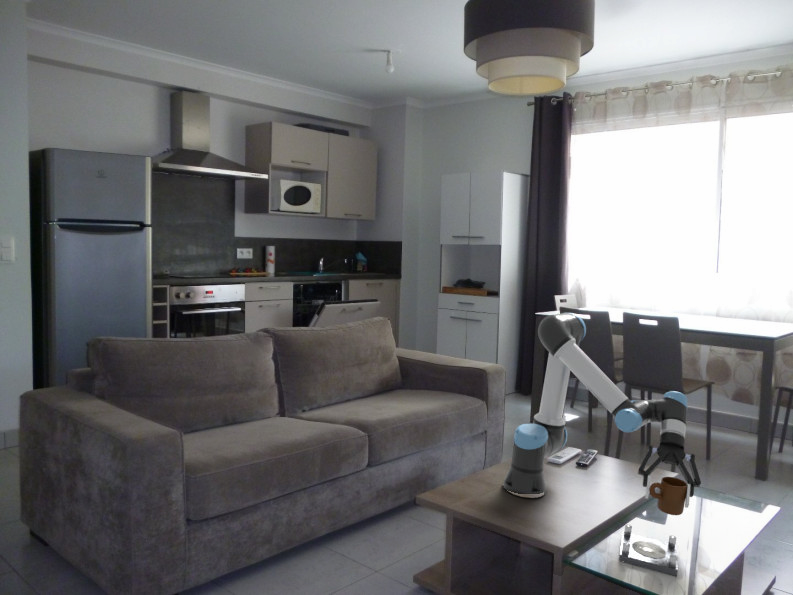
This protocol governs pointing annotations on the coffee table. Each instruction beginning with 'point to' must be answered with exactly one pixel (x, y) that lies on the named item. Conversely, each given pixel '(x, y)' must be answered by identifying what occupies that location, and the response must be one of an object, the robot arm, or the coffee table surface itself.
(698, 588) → the coffee table surface
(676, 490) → the mug
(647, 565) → the chassis
